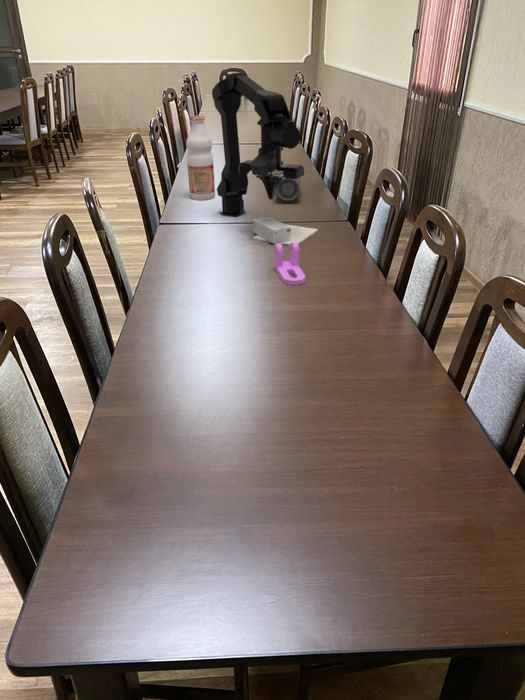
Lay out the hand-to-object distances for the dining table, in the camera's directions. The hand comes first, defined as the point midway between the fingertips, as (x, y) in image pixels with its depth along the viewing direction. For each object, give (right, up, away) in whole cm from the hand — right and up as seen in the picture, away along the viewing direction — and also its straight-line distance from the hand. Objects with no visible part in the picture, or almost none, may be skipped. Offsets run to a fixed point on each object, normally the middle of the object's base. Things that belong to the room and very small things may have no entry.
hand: (271, 199), depth 159 cm
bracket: (+4, -26, -24) cm, 36 cm away
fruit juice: (-25, +12, +41) cm, 50 cm away
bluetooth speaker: (+7, +13, +42) cm, 45 cm away
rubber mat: (+5, -10, +3) cm, 11 cm away
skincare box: (-3, -6, +4) cm, 8 cm away
